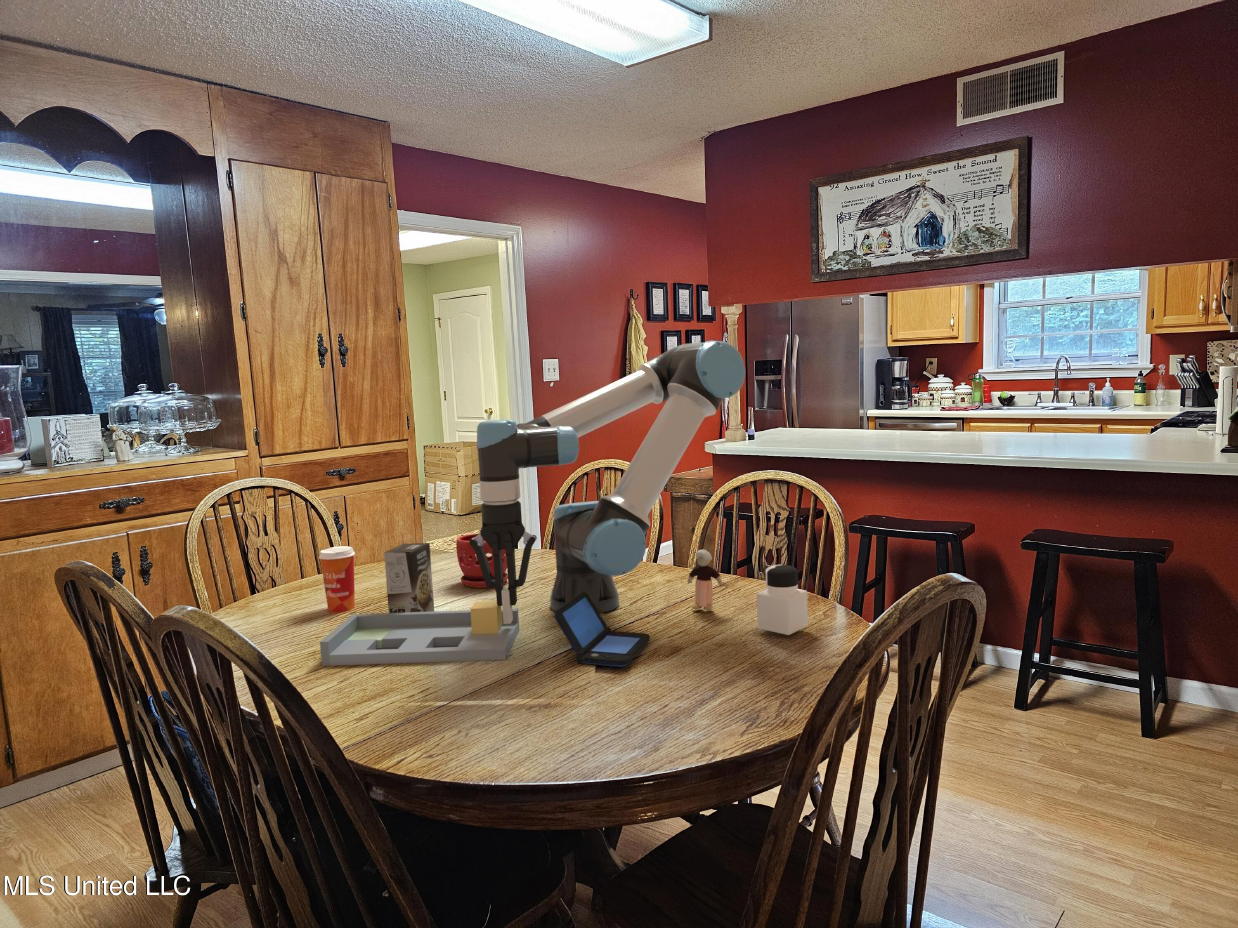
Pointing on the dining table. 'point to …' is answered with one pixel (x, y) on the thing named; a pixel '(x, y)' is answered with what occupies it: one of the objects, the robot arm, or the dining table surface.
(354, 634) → the trap deck
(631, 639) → the handheld game console
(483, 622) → the block
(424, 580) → the coffee box
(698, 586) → the grandmother figurine
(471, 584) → the plant pot
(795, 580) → the medicine bottle
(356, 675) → the dining table surface
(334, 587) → the paper cup
